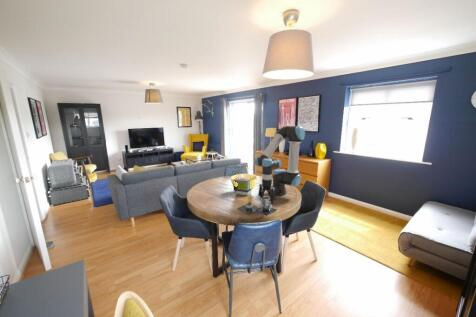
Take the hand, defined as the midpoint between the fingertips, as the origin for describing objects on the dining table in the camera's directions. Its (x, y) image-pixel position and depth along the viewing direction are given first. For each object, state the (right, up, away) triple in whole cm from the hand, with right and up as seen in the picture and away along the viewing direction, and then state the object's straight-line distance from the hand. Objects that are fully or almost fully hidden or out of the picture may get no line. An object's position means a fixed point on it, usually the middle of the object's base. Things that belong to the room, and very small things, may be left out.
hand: (266, 206), depth 158 cm
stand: (0, -3, +1) cm, 3 cm away
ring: (0, +2, 0) cm, 2 cm away
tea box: (-18, +4, +38) cm, 42 cm away
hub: (-13, -3, +3) cm, 14 cm away
